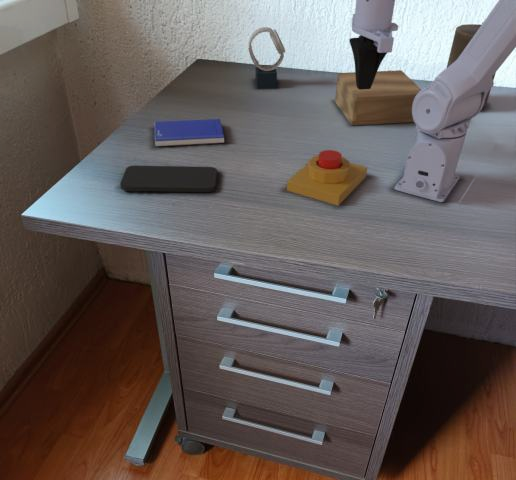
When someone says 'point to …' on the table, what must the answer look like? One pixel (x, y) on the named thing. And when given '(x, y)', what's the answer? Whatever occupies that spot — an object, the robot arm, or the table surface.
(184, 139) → the blue hardcover book
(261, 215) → the table surface
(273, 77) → the watch
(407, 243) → the table surface
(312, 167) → the button block
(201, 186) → the phone
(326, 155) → the button
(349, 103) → the chest
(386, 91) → the lid
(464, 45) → the pillar candle
